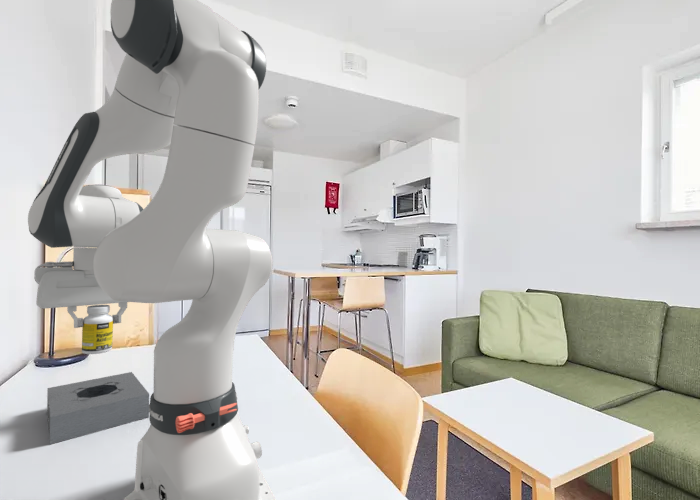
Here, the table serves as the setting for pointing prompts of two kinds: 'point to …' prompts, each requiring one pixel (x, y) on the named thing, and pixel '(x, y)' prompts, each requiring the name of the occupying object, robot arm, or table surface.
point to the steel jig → (95, 406)
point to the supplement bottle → (97, 330)
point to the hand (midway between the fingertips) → (98, 325)
